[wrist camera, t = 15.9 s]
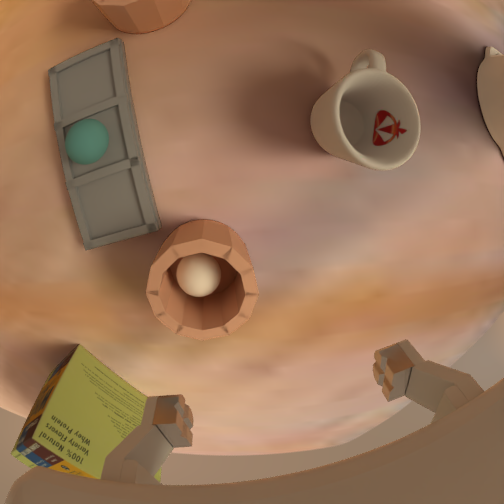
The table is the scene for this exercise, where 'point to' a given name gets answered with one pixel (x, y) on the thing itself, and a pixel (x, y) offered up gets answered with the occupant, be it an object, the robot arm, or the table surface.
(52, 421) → the protein box
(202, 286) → the ball
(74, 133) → the ball
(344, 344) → the table surface
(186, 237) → the tube
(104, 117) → the tray
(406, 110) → the cup
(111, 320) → the table surface
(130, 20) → the tube
